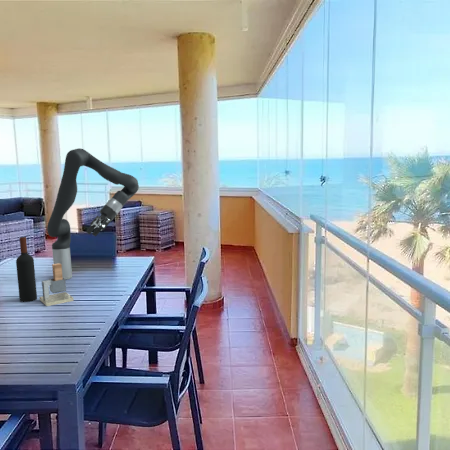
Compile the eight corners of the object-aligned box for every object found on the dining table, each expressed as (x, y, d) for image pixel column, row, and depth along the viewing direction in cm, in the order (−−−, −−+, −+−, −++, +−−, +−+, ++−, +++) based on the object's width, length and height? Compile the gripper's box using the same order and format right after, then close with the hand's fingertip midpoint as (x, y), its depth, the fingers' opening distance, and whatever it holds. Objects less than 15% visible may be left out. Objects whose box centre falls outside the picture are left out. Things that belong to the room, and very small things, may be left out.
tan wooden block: (54, 289, 201) (52, 264, 200) (61, 288, 203) (59, 263, 202) (56, 290, 199) (54, 265, 197) (63, 289, 201) (61, 264, 199)
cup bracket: (39, 300, 202) (37, 279, 201) (65, 294, 209) (64, 274, 208) (46, 306, 193) (44, 284, 191) (73, 300, 200) (71, 279, 198)
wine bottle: (18, 303, 198) (12, 239, 194) (21, 298, 206) (15, 236, 201) (35, 301, 200) (30, 237, 196) (38, 296, 208) (32, 235, 203)
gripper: (100, 203, 221) (80, 228, 216) (111, 205, 209) (90, 231, 204) (111, 212, 225) (91, 237, 219) (122, 215, 213) (101, 240, 208)
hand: (90, 234), depth 212 cm, fingers open, 8 cm apart
